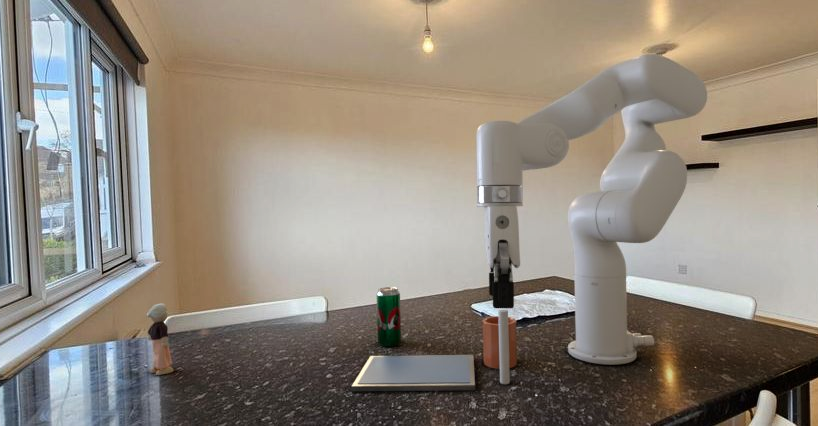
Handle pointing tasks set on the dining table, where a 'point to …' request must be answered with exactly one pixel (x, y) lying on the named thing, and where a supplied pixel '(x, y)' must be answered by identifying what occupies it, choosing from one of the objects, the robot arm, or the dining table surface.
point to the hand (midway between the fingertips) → (500, 301)
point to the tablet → (417, 373)
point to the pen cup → (493, 342)
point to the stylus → (503, 346)
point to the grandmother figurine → (159, 340)
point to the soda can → (388, 317)
